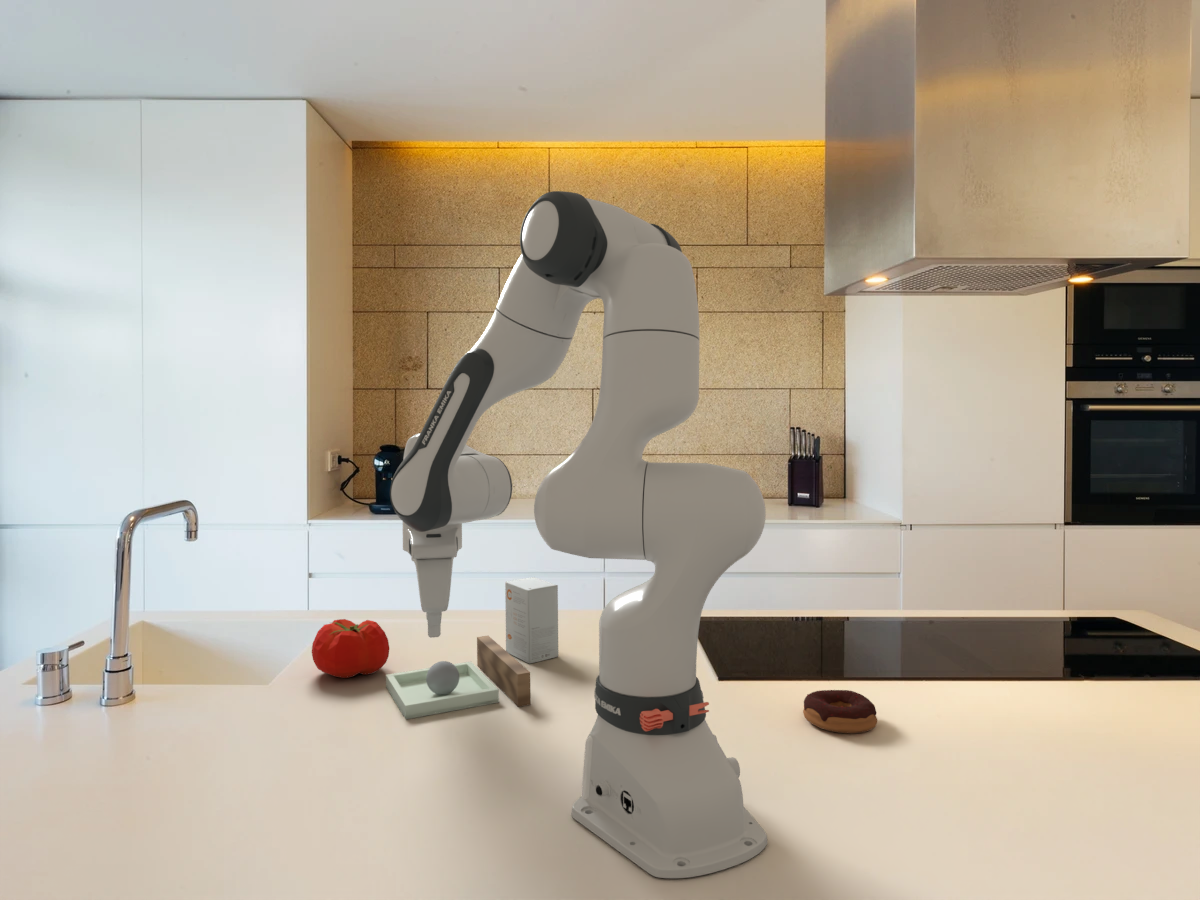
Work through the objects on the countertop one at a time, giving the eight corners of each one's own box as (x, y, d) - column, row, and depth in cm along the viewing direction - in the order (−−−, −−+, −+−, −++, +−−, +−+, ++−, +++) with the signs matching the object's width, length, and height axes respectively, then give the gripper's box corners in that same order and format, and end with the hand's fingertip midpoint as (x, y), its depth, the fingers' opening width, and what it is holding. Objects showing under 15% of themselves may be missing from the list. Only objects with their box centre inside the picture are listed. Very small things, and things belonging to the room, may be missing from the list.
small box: (559, 657, 142) (558, 584, 141) (528, 664, 138) (528, 590, 137) (534, 645, 148) (534, 576, 147) (504, 652, 144) (504, 581, 143)
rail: (530, 704, 120) (530, 672, 120) (518, 707, 119) (517, 674, 119) (488, 663, 138) (488, 635, 138) (477, 665, 137) (476, 637, 137)
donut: (876, 714, 117) (877, 687, 117) (877, 742, 108) (878, 713, 107) (805, 706, 120) (805, 680, 120) (800, 733, 111) (800, 704, 110)
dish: (498, 702, 121) (498, 689, 121) (405, 719, 115) (405, 705, 115) (471, 673, 134) (471, 661, 134) (386, 686, 128) (385, 674, 127)
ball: (463, 690, 125) (468, 666, 123) (441, 707, 121) (446, 682, 119) (439, 673, 127) (444, 649, 125) (417, 689, 123) (421, 665, 121)
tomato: (294, 681, 130) (292, 630, 129) (342, 657, 142) (341, 610, 141) (360, 691, 126) (359, 638, 125) (404, 665, 138) (403, 616, 137)
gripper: (410, 529, 131) (411, 612, 132) (411, 549, 111) (412, 647, 112) (450, 527, 132) (450, 610, 133) (457, 547, 113) (458, 644, 113)
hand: (433, 627), depth 122 cm, fingers open, 8 cm apart
